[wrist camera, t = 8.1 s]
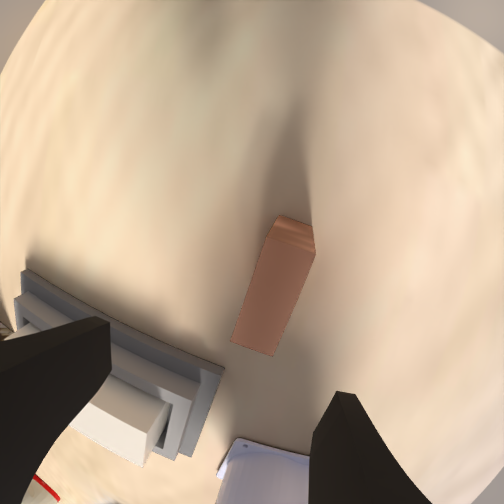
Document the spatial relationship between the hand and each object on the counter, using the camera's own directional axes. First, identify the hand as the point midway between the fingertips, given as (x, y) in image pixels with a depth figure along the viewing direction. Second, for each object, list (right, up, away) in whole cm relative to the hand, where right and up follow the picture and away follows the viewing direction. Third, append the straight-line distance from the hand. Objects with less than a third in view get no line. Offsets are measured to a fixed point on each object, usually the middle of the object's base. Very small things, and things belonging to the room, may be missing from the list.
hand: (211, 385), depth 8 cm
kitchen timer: (-55, -58, +36) cm, 88 cm away
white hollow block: (-12, -7, +14) cm, 20 cm away
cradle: (-12, -6, +15) cm, 20 cm away
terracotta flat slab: (+3, +3, +10) cm, 11 cm away
